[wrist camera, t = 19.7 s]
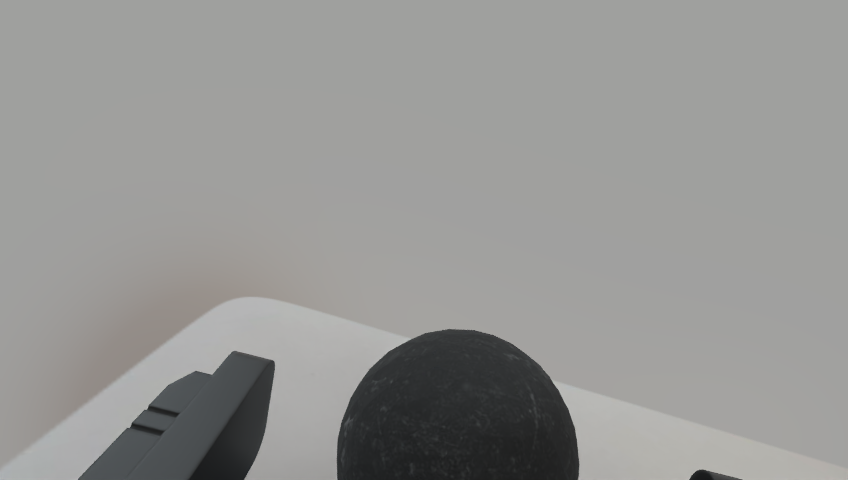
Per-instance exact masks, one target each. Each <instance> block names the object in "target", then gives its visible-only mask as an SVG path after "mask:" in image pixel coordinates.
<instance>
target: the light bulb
mask: <svg viewBox="0 0 848 480" xmlns="http://www.w3.org/2000/svg"><path fill="white" fill-rule="evenodd" d="M578 477H579V458H578V447H577V439H576V434H575V428H574V425H573V422H572V419H571V416H570V413H569V410H568V408H567V406H566V405H565V403H564V401H563V399H562V397H561V395H560V393H559V391H558V389H557V388H556V387H555V385H554V384H553V382H552V380H551V379H550V377H549V376H548V375H547V374H546V373H545V371H544V370H543V369H542V368H541V366H540V365H539V364H537V363H536V362H535V361H534V360H533V359H531V358H530V357H529V356H528V355H526V354H525V353H524V352H522V351H521V350H520V349H518V348H517V347H516V346H514V345H513V344H511V343H509V342H507V341H505V340H502V339H500V338H498V337H496V336H494V335H490V334H486V333H482V332H478V331H475V330H452V329H448V330H442V331H436V332H430V333H425V334H423V335H421V336H418V337H416V338H414V339H411V340H409V341H407V342H406V343H404V344H402V345H400V346H398V347H396V348H395V349H393V350H391V351H389V352H388V353H387V354H386V355H384V356H383V357H382V358H381V359H380V360H379V361H378V362H377V363H376V364H375V365H374V366H373V367H372V368H370V370H369V371H368V372H367V374H366V375H365V377H364V378H363V379H362V381H361V382H360V384H359V385H358V387H357V389H356V390H355V392H354V394H353V395H352V397H351V399H350V402H349V404H348V407H347V409H346V412H345V415H344V417H343V420H342V423H341V427H340V432H339V437H338V446H337V478H338V480H578Z"/></svg>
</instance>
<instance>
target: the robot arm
mask: <svg viewBox="0 0 848 480" xmlns="http://www.w3.org/2000/svg"><path fill="white" fill-rule="evenodd" d="M274 371H275V363H274V361H273V360H269V359H265V358H261V357H257V356H253V355H249V354H245V353H241V352H237V351H233V352H232V353H231V354H230V355H229V356H228V357H227V358H226V359H225V361H224V362H223V363H222V364H221V365H220V367H219V368H218V369H217V370H216V371H215V372H214V374H213V375H210V374H206V373H202V372H198V371H195V372H193V373H191V374H189V375H187V376H185V377H183V378H181V379H179V380H177V381H175V382H174V383H172V384H170V385H168V386H167V387H166V388H165V389H164V390H163V391H162V392H161V393H160V394H159V395H158V396H157V397H156V399H155V400H154V401H153V402H152V403H151V404H150V405H149V407H148V409H147V410H144V411H143V412H142V413H141V414H140V415H139V416H138V417H137V418H136V419H135V420H134V421H133V422H132V425H131V427H130V428H127V429H126V430H125V431H124V432H123V433H122V434H121V435H120V436H119V437H118V438H117V439H116V440H115V441H114V442H113V443H112V444H111V445H110V446H109V447H108V448H107V450H106V451H105V452H104V453H103V454H102V455H101V456H100V457H99V458H98V459H97V460H96V461H95V462H94V463H93V464H92V465H91V466H90V467H89V468H88V469H87V470H86V471H85V472H84V473H83V475H82V476H81V477H80V478H79V479H78V480H244V479H245V477H246V475H247V473H248V471H249V470H250V468H251V466H252V464H253V462H254V460H255V458H256V456H257V454H258V451H259V449H260V446H261V443H262V440H263V436H264V433H265V428H266V423H267V416H268V410H269V403H270V397H271V390H272V384H273V378H274ZM690 480H742V479H738V478H734V477H730V476H726V475H722V474H718V473H714V472H710V471H706V470H698V471H696V472H695V473H694V474H693V475H692V476H691V478H690Z"/></svg>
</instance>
